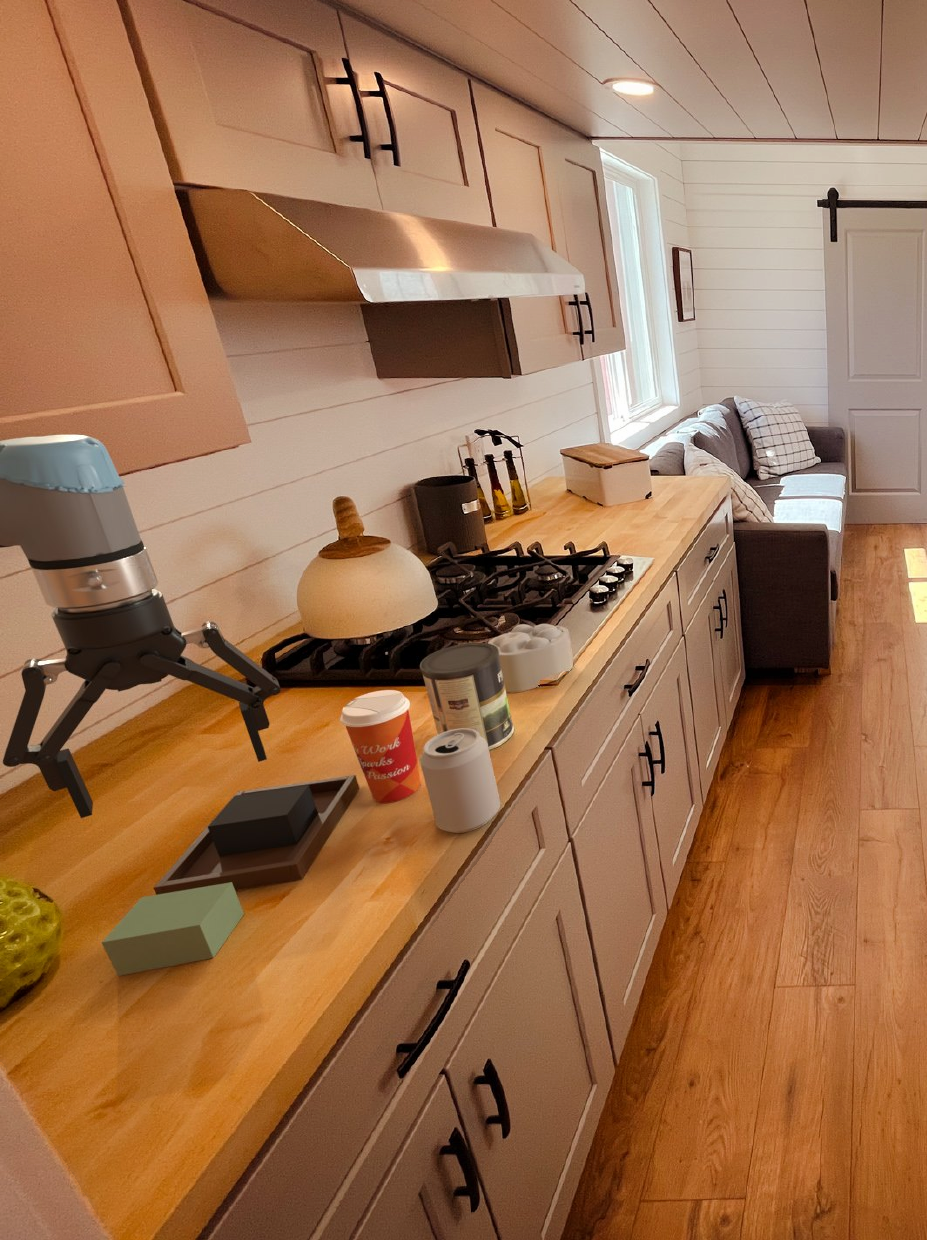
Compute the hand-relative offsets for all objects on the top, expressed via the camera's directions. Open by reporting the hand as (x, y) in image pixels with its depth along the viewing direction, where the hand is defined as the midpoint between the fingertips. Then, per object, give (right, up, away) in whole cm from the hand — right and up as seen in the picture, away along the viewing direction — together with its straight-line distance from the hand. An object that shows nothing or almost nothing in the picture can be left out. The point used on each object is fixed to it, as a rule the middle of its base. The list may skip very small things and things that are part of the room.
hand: (179, 781), depth 77 cm
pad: (+1, -17, -1) cm, 17 cm away
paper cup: (+7, -8, +23) cm, 26 cm away
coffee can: (+12, -4, +35) cm, 38 cm away
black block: (-2, -11, +14) cm, 17 cm away
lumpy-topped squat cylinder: (+11, +4, +55) cm, 56 cm away
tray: (-2, -11, +14) cm, 18 cm away
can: (+21, -10, +18) cm, 29 cm away
